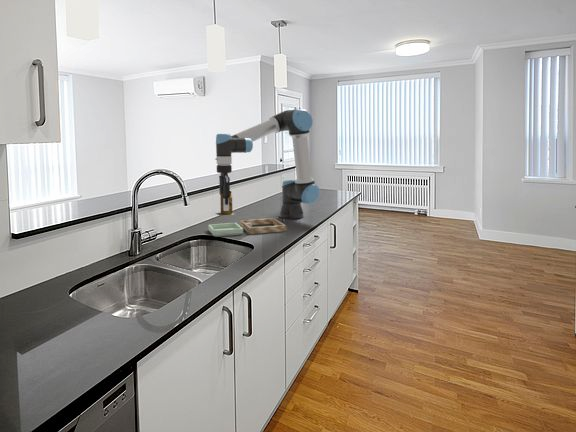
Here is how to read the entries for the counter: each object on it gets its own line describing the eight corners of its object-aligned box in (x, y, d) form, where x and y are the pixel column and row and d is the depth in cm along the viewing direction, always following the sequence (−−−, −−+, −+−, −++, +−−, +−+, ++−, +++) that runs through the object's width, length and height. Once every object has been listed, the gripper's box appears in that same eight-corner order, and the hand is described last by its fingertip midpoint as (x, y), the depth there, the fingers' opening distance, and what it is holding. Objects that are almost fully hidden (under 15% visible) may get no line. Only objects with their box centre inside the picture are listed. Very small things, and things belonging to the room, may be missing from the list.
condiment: (235, 214, 210) (235, 191, 207) (220, 216, 205) (219, 192, 203) (229, 212, 216) (228, 189, 213) (214, 213, 211) (213, 190, 209)
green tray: (236, 228, 222) (235, 222, 221) (243, 234, 208) (243, 228, 208) (208, 230, 216) (208, 224, 216) (214, 236, 203) (213, 230, 202)
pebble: (249, 226, 226) (249, 222, 226) (252, 227, 224) (252, 223, 224) (244, 227, 224) (244, 223, 224) (247, 228, 222) (247, 223, 222)
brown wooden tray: (273, 223, 234) (273, 218, 234) (286, 230, 216) (286, 225, 215) (240, 225, 227) (240, 220, 227) (250, 233, 209) (249, 228, 208)
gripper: (213, 163, 213) (214, 206, 217) (220, 166, 195) (221, 213, 200) (227, 163, 215) (227, 206, 220) (235, 166, 198) (236, 212, 202)
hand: (224, 209), depth 210 cm, fingers closed on condiment, 6 cm apart
